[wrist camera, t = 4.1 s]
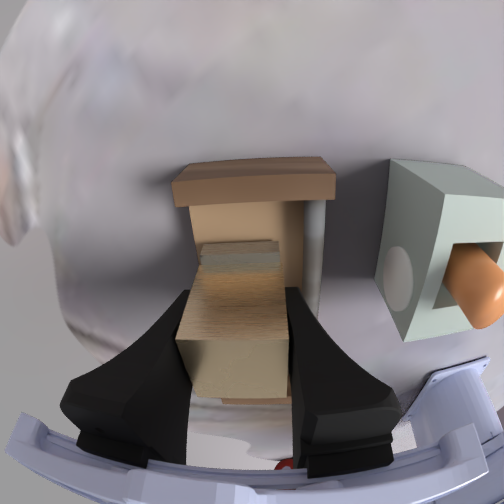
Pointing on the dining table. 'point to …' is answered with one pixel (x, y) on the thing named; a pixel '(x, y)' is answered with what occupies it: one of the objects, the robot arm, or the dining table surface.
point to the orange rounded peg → (475, 284)
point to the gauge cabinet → (433, 241)
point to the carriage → (237, 323)
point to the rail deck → (263, 216)
